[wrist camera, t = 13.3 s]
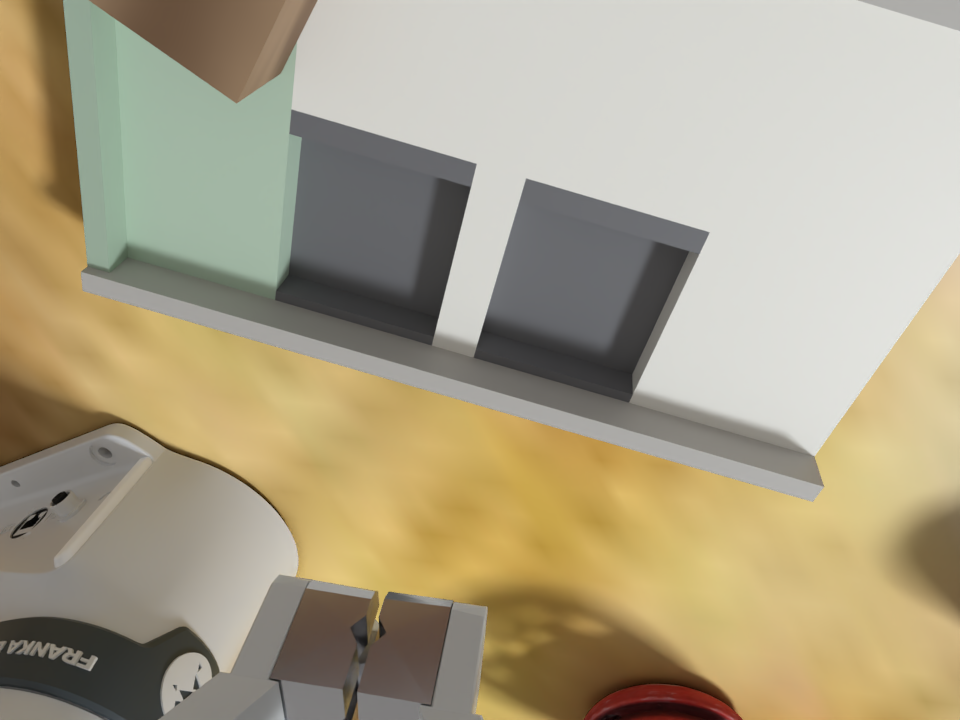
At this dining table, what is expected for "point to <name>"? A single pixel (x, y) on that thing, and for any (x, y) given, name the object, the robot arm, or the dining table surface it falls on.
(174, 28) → the block
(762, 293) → the white board with recesses
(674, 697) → the plant pot
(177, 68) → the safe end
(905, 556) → the dining table surface
